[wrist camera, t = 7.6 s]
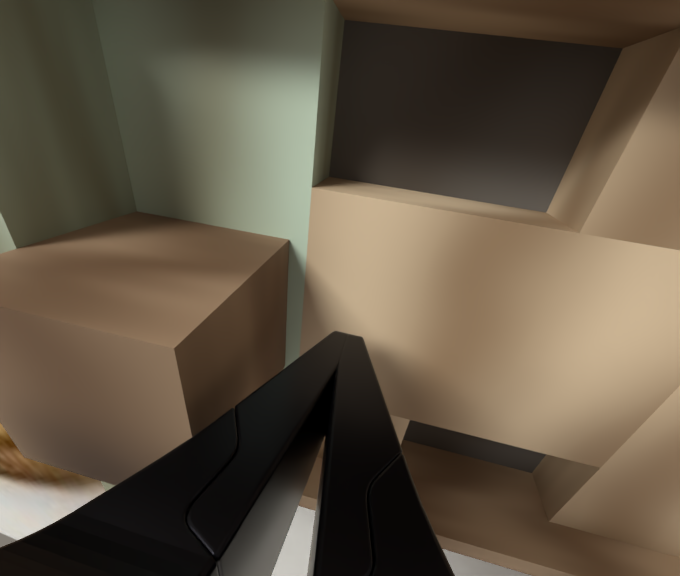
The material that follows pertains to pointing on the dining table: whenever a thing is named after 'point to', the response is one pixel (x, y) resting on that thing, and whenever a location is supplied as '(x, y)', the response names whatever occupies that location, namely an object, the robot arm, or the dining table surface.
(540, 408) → the tray
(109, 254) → the walnut block
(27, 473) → the dining table surface
